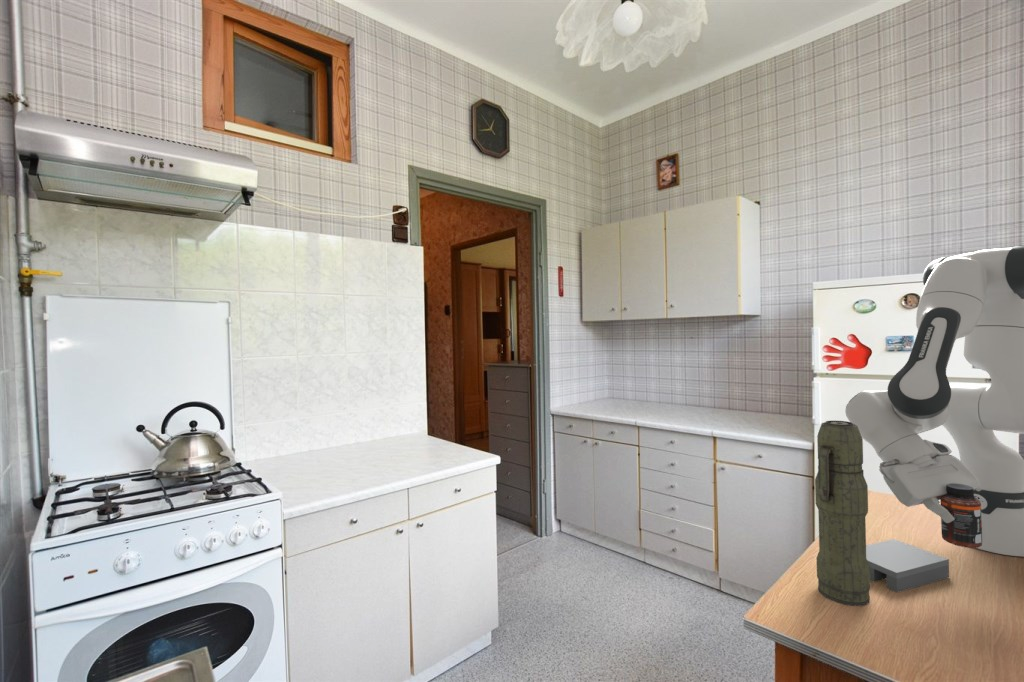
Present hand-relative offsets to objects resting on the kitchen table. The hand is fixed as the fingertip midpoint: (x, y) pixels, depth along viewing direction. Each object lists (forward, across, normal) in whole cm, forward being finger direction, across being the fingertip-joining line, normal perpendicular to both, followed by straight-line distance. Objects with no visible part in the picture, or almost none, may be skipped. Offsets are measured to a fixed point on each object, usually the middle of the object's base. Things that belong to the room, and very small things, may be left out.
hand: (964, 518), depth 95 cm
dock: (+3, -2, +19) cm, 20 cm away
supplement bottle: (+3, 0, +4) cm, 5 cm away
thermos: (+4, -21, +18) cm, 28 cm away
